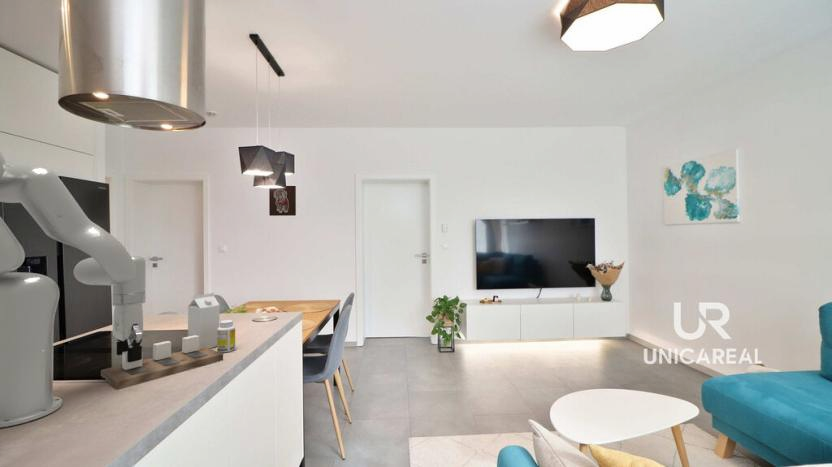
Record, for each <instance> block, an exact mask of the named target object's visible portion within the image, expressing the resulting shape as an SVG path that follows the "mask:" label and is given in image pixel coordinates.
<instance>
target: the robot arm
mask: <svg viewBox="0 0 832 467" xmlns="http://www.w3.org/2000/svg"><path fill="white" fill-rule="evenodd" d="M0 202H1V203H5V204H6V203H7V204H8V203H9V204H21V205H22V207H24V209H25V210H26V212H28V213H29V215H30V216H31V218H33V220H34V221H35V222H36V223H37V224H38V226H39V227H40V228H41V230H42V231H43V233H45V235H46V236H48V237H49V238H51V239H53V240H55V241H57V242H59V243H62V244H64V245H66V246H67V245H68V246H70V247H73V248H75V249H78V250H80V251H82V252H84V253H85V254H86V255H88V256H90V257H88V258H85V259H81V260H80V261H79V262H78V263H77V264H76V265H75V266H74V269H73V276H74V278H75V279H76V280H77V281H78V282H80V283H82V284H84V285H90V286H112V288H111V289H112V290H111V292H112V300H111V303H112V304H111V306H113V307H114V309H113V319H112V320H113V322H112V336H113V337H114V338H115V339H116V355H117V356H122V352H126V351H127V362H134V361H138V360H141V359H142V350H143V343H142V342H143V338H142V337H143V335H144V313H143V311H144V310H143V304H145V303H146V271H147V270H146V265H147V263H146V258H145V257H143V256H140V255H139V256H138V255H137V256H136V255H134V256H133V255H131V254H130V253H129V251H128V250H127V248H126V247H125V246H124V245H123V243H122V242H121V241H119V240H118V238H116V237H115V236H113V235H112V234H110V233H109V232H108V231H106V229H104V228H103V227H101V226H99V225H98V224H97V223H95V222H93V221H92V220H91V219H90V218H88V216H87V215H86V213H85V212H84V211H83V209H82V207H81V206H80V205H79V203H78V202H77V201H76V199H75V198H74V196H73V195H72V193H71V192H70V191H69V190H68V188H67V187H66V185H65V184H64V182H63V181H62V180H61V179H60V177H59V176H58V175H57V174H56V173H55V172H54V171H53V170H51V169H49V168H47V167H43V166H38V165H37V166H35V165H22V166H21V165H20V166H19V165H17V166H16V165H15V166H8V165H7V164H6V160H5V158H4V156H3V154H2V153H1V152H0ZM25 257H26V253H25V251H24V247H23V246H22V245H21V243H20V241H18V239H17V238H16V236H15V234H14V233H13V232H12V230H11V229H10V228H9V226H8V225H7V224H6V222H5V221H4V219H3V218H2V217H1V216H0V428H6V427H7V428H8V427H11V426H17V425H20V424H25V423H28V422H32V421H35V420H37V419H38V420H39V419H40V418H42V417H46V416H47V415H49V414H51V413H53V412H56V411H57V410H58V409H60V408H61V406H63V405H62V404H63V399H62V398H61V397H59V396H54V327H55V326H54V325H55V317H56V316H55V315H56V312H57V308H58V304H59V300H60V287H59V285H58V284H57V283H56V281H55V280H53V279H52V278H51V277H49V276H47V275H44V274H40V273H36V272H35V273H34V272H19V271H18V272H17V271H16V272H15V270H17V269H18V268H20V267H21V266H22V265H23V263H24V261H25V259H26V258H25ZM142 360H143V359H142Z"/></svg>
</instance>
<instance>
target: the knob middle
mask: <svg viewBox="0 0 832 467" xmlns="http://www.w3.org/2000/svg"><path fill="white" fill-rule="evenodd" d="M171 353H172V341H169V340H166V341H161V342H157V343H153V344H152V358H153V359H154V360H160V359H164V358H168V357H171Z"/></svg>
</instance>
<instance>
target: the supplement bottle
mask: <svg viewBox="0 0 832 467" xmlns="http://www.w3.org/2000/svg"><path fill="white" fill-rule="evenodd" d="M216 348H217V349H216V350H217V352H220V353H229V352H233V351H234V350H236V326H235V325H234V322H233V320H232V319H224V320H221V321H219V328H218V329H217V346H216Z"/></svg>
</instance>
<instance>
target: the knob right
mask: <svg viewBox="0 0 832 467" xmlns="http://www.w3.org/2000/svg"><path fill="white" fill-rule="evenodd" d="M181 339H182V340H181V341H182V342H181V351H182V352H184V353H189V352H193V351H197V350H199V336H197V335H194V336H189V337H188V336H185V337H182V338H181Z"/></svg>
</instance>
